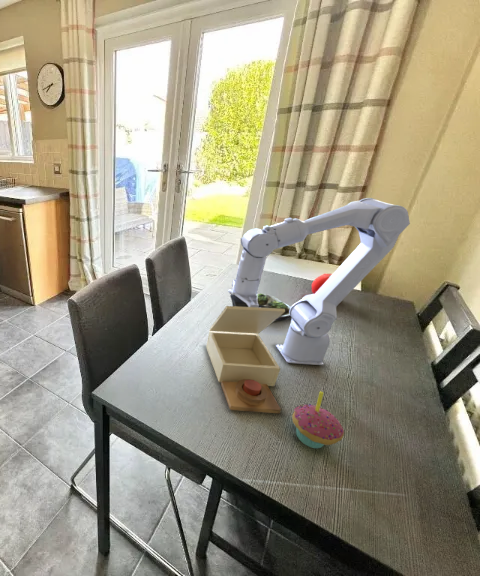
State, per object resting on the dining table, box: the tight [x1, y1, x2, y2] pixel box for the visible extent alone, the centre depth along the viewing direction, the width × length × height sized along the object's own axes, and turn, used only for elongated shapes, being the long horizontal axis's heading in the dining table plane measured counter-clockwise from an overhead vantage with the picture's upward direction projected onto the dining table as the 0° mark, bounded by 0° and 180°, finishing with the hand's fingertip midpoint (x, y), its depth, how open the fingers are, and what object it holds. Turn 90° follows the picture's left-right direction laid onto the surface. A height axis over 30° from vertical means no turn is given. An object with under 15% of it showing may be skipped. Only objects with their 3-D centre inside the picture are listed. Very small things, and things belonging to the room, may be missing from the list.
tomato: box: [311, 273, 333, 294], centre depth 115 cm, size 11×13×10 cm
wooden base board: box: [220, 379, 282, 414], centre depth 73 cm, size 11×8×3 cm
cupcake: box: [291, 387, 345, 449], centre depth 61 cm, size 9×8×12 cm
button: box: [243, 379, 261, 396], centre depth 72 cm, size 4×4×2 cm
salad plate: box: [258, 293, 292, 322], centre depth 111 cm, size 19×18×5 cm
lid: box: [209, 305, 285, 335], centre depth 81 cm, size 16×14×1 cm
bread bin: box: [205, 330, 281, 387], centre depth 82 cm, size 15×14×6 cm
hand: (237, 320), depth 85 cm, fingers closed
